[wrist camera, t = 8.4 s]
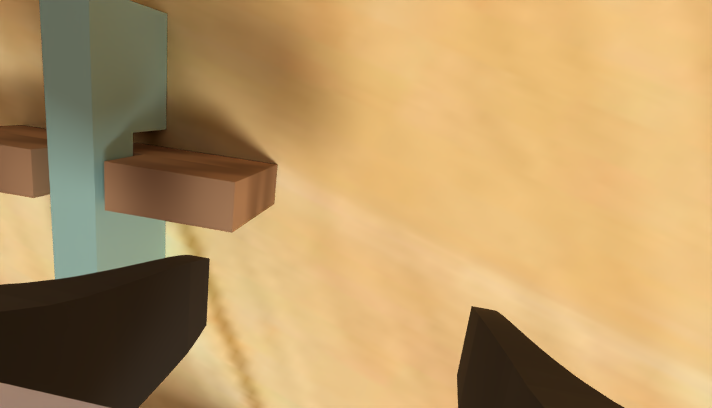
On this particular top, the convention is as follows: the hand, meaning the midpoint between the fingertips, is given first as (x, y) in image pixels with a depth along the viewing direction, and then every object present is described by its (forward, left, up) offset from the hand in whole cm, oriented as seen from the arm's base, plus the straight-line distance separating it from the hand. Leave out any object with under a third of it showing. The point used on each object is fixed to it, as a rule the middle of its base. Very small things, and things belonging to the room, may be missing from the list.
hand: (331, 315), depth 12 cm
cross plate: (+1, +12, -10) cm, 15 cm away
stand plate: (+1, +12, -10) cm, 16 cm away
